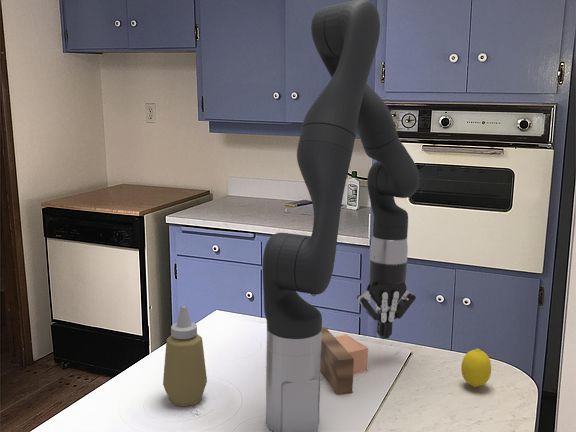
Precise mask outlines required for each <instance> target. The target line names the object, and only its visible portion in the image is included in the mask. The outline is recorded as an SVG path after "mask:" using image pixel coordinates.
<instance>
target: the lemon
mask: <svg viewBox="0 0 576 432" xmlns="http://www.w3.org/2000/svg"><path fill="white" fill-rule="evenodd" d="M491 362H492V361H491V359H490V357H489V355H488V354H487V353H486V352H484V351H482V350H481V349H479V348H475V349H472V350H470V351H467V353H466V354H465V355H464V357H463V359H462V362H461V365H460V367H461V375H462V378H463V379H464V380H465V382H466V383H468V384H469V385H471V386H472V388H478V387H481V386H484V385H485V384H486V383H488V381H489V380H490V378H491V374H492V363H491Z"/></svg>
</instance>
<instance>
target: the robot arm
mask: <svg viewBox="0 0 576 432" xmlns="http://www.w3.org/2000/svg"><path fill="white" fill-rule="evenodd" d="M380 20H381V18H380V14H379V11H378V9H377V6H376V5H375V3H374V2H372V1H371V0H349V1H344V2H340V3H336V4H332V5H328V6H324V7H321V8H319V9H318V10H317V11H316V12H315V13H314V15H313V17H312V20H311V26H310V27H311V28H310V29H311V37H312V42H313V45H314V46H315V49H316V51H317V53H318V56H319V58H320V59H321V61H322V63H323V65H324V66H325V68H326V70H327V72H328V74H329V75H330V78H331V79H330V80H329V82H328V83H327V85H326V86H325V87H324V88H323V90H322V91H321V92H320V93H319V94H318V96H317V98H316V99H315V100H314V101H313V103H312V104H311V106H310V107H309V109H308V111H307V112H306V114H305V116H304V118H303V121H302V124H301V125H302V126H301V130H300V135H299V139H298V145H297V149H296V161H297V166H298V168H299V171H300V173H301V176H302V178H303V181H304V184H305V186H306V189H307V190H308V194H309V197H310V201H311V203H312V208H313V224H312V225H313V226H312V231H311V235H304V234H299V233H298V234H297V233H290V232H276V233H273V234H272V235H271V236H270V237H269V239H267V242H266V244H265V247H264V251H263V256H262V266H261V267H262V286H263V309H264V311H263V312H264V316H265V320H266V354H265V355H266V356H265V357H266V359H265V360H266V362H265V363H266V367H265V368H266V370H265V371H266V375H265V376H266V377H265V383H266V384H265V423H266V425H267V427H268V428H269V429H270V430H271V431H273V432H319V431H318V430H319V429H318V428H319V425H320V406H321V405H320V402H321V401H320V399H321V397H320V396H321V372H320V369H321V337H322V327H323V317H322V313H321V311H320V310H319V309H318V308H317V307H315V306H314V305H312V304H310V302H308V301H306V300H305V299H303V298H302V297H301V296H300V295H299V294H298V292H299V293H302V294H303V293H304V294H310V295H321V294H323V293H324V292H325V291H326V290H327V289H328V286H330V282H331V279H332V276H333V272H334V268H335V267H334V266H335V261H336V260H335V259H336V253H337V245H338V244H337V243H338V235H339V226H340V220H341V219H340V218H341V211H342V210H341V209H342V204H343V200H344V194H345V193H344V192H345V188H346V183H347V178H348V175H349V174H348V173H349V169H350V165H351V160H352V157H353V156H352V155H353V151H354V145H355V140H356V135H357V133H358V136H359V138H360V142H361V144H362V148H363V150H364V151H365V154H366V156H368V157H369V158H370V159H371V160H372V159H373V160H374V161H376V162H374V163H373V164H372V165H371V167H370V168H369V170H368V173H367V176H366V177H367V178H366V186H367V191H368V196H369V201H370V206H371V210H372V215H373V220H372V221H373V223H372V224H373V225H372V237H371V238H372V239H371V242H370V243H371V244H370V253H369V258H370V259H369V277H368V279H369V282H368V285H367V287H366V291H365V292H364V293H363V294H362V295H361V294H357V296H356V300H357V302H359V304H360V305H361V306H362V307H363V309H364V311H365V312H366V313H367V315H369V317H371V318H372V319H373V320H374V321H376V334H377V335H378V337H380V339H382V340H386V339H390V336H392V334H393V324H394V323H393V322H394V321H395V320H397V319H401V318H402V317H403V316H404V315H405V313H406V312H407V310H408V309H409V308H410V307H411V305H412V304H413V303H414V302H415V300H416V295H415V294H413V293H412V292H410V291H409V290H408V287H407V284H406V280H407V270H408V269H407V268H408V249H409V248H408V247H409V246H408V245H409V244H408V232H409V231H408V230H409V214H408V212H407V211H406V209H404V208H402V207H400V206H398V204H397V203H396V201H395V198H400V199H407V198H411V197H412V196H414V194H415V193H416V192H417V191H418V188H419V185H420V172H419V170H418V167H417V165H416V163H415V161H414V159H413V158H412V156H411V155H410V153H409V152H408V150H407V149H406V147H405V146H404V144H403V143H402V141H401V140H400V138H399V135H398V130H397V127H396V124H395V122H394V117H393V116H392V112H391V111H390V109H389V107H388V106H387V104H386V103H385V101H384V100H383V99H382V98H381V97H380V95H379V94H378V93H377V92H375V90H374V89H373V88H371V86H370V85H369V84H368V83H367V81H368V79H369V74H370V72H371V69H372V65H373V61H374V58H375V55H376V53H377V48H378V45H379V40H380V34H381V33H380V32H381V21H380ZM371 300H372V301H373V302H374V303H375V309H376V310H375V309H374V308H373V306H372V305H371V302H372V301H371Z"/></svg>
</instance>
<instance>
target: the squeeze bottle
mask: <svg viewBox="0 0 576 432" xmlns="http://www.w3.org/2000/svg"><path fill="white" fill-rule="evenodd" d="M188 309H189V308H188V306H187V305H181V306H180V307H179V312H178V316H177V322H175V323H173V324H172V325H171V327H170V333H171V334H170V335H169V336H168V337H167V338H166V342H165V343H166V344H165V355H164V366H163V367H164V368H163V378H162V385H163V388H164V390H165V393H166V396H167V398H168V401H169V402H170V403H171V404H172V405H175V406H179V407H190V406H194V405H196V404H198V403H199V402H200V401H201V400H202V397H203V395H204V392H205V388H206V385H207V383H208V378H207V377H208V376H207V369H206V367H207V366H206V360H205V359H206V358H205V352H204V343H203V337H202V336H201V335H200V334H198V325H197V324H196V323H195V322H192V321H191V318H190V313H189V310H188Z"/></svg>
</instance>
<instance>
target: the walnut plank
mask: <svg viewBox="0 0 576 432" xmlns="http://www.w3.org/2000/svg"><path fill="white" fill-rule="evenodd" d="M335 337H336V336H334V335H333V333H332V332H330V331H329V329H328V328H327V327H326V326H322V337H321V369H320V374H322V376H323V378H325V380H326V381H327V382H328V384H329V385H330V387H331V388H332V389H333V390H334V392H335V394H336V395H344V394H352V393H353V388H354V387H353V384H354V374H353V365H354V358H353V357H352V356H351V355H350V354H349V353H348V352H347V350H346V349H345V348H344V347H343V346H342V345H341V344H340V343H339V342H338V340H337V339H336V338H335Z"/></svg>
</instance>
